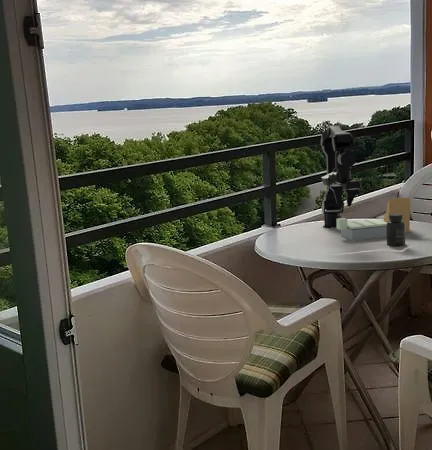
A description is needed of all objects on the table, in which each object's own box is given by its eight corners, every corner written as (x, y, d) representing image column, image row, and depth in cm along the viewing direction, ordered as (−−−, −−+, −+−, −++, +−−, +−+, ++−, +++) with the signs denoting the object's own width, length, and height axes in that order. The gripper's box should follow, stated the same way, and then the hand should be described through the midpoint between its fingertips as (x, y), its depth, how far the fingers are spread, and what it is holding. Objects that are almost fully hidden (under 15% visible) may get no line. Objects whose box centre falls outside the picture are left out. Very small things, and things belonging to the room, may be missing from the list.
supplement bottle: (405, 244, 243) (406, 212, 240) (404, 248, 236) (405, 216, 234) (387, 243, 245) (387, 212, 243) (385, 247, 238) (385, 216, 236)
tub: (352, 242, 250) (351, 230, 249) (340, 237, 260) (340, 225, 259) (389, 238, 254) (389, 226, 253) (376, 233, 264) (376, 221, 263)
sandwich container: (401, 226, 275) (401, 192, 272) (410, 234, 260) (410, 197, 257) (380, 227, 275) (380, 192, 272) (388, 235, 260) (388, 198, 257)
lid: (343, 231, 248) (343, 221, 248) (332, 227, 258) (332, 217, 257) (389, 226, 253) (389, 216, 252) (376, 222, 263) (376, 212, 262)
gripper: (314, 165, 258) (314, 203, 261) (334, 168, 240) (335, 209, 243) (339, 163, 261) (340, 201, 263) (361, 166, 243) (362, 207, 246)
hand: (343, 204), depth 254 cm, fingers open, 9 cm apart
